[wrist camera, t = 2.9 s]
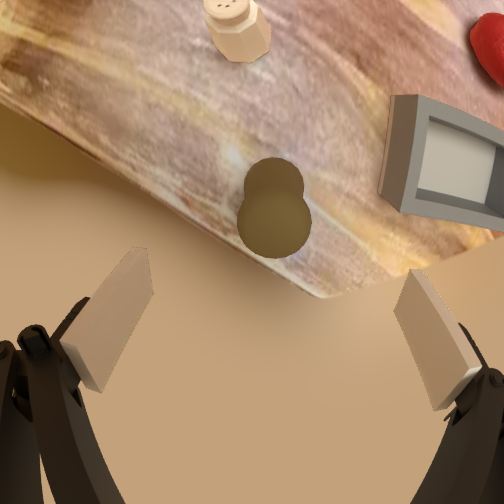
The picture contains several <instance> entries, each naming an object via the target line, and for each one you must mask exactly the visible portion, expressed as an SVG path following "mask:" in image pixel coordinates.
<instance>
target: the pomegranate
mask: <svg viewBox="0 0 504 504" xmlns="http://www.w3.org/2000/svg"><path fill="white" fill-rule="evenodd" d="M470 42H471V45H472V47H473V49H474V51H475V54H476V56H477V58H478V60H479V62H480V64H481V65H482V67H483V68H484V69H485V70H486V72H487V73H488V74H489V76H490V77H491V78H492V79H493V80H494V81H495V82H496V83H497V84H499V85H500V86H501V87H502V88H504V15H502V14H500V13H486V14H484V15H483V16H481V17H480V18H479V20H478V22H477V24H476V25H475V26H474V27H473V28H472V29H471V32H470Z"/></svg>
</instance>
